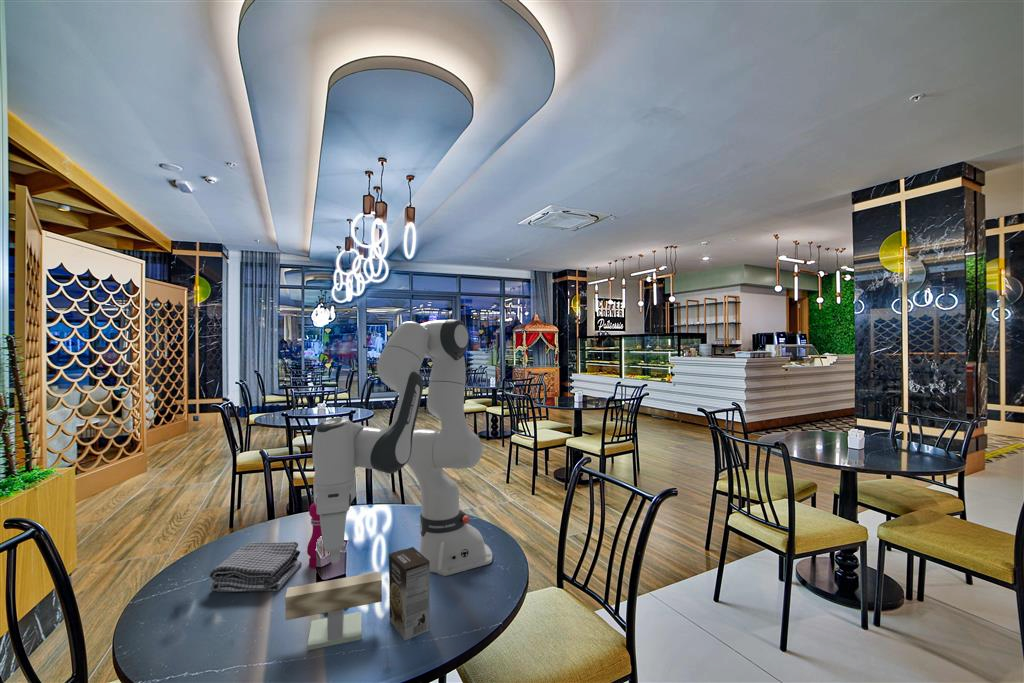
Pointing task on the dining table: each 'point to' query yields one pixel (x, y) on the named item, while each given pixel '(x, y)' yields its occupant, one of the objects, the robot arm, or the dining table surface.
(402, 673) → the dining table surface
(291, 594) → the beech bar
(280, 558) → the towel
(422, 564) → the coffee box
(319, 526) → the pepper mill
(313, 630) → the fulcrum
